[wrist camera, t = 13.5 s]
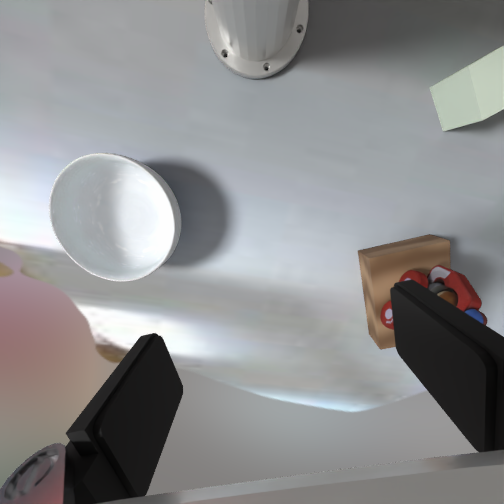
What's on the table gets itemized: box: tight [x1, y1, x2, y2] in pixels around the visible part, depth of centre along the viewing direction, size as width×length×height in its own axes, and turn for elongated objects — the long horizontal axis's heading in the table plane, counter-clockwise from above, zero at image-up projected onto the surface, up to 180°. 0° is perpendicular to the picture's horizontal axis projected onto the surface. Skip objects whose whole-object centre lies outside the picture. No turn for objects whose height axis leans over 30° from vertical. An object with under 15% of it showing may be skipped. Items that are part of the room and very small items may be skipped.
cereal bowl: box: [49, 153, 181, 281], centre depth 33 cm, size 17×17×7 cm
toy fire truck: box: [380, 265, 487, 330], centre depth 30 cm, size 7×12×10 cm, turn 160°
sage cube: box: [430, 45, 504, 131], centre depth 28 cm, size 6×6×6 cm
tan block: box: [358, 234, 450, 349], centre depth 37 cm, size 16×11×4 cm
